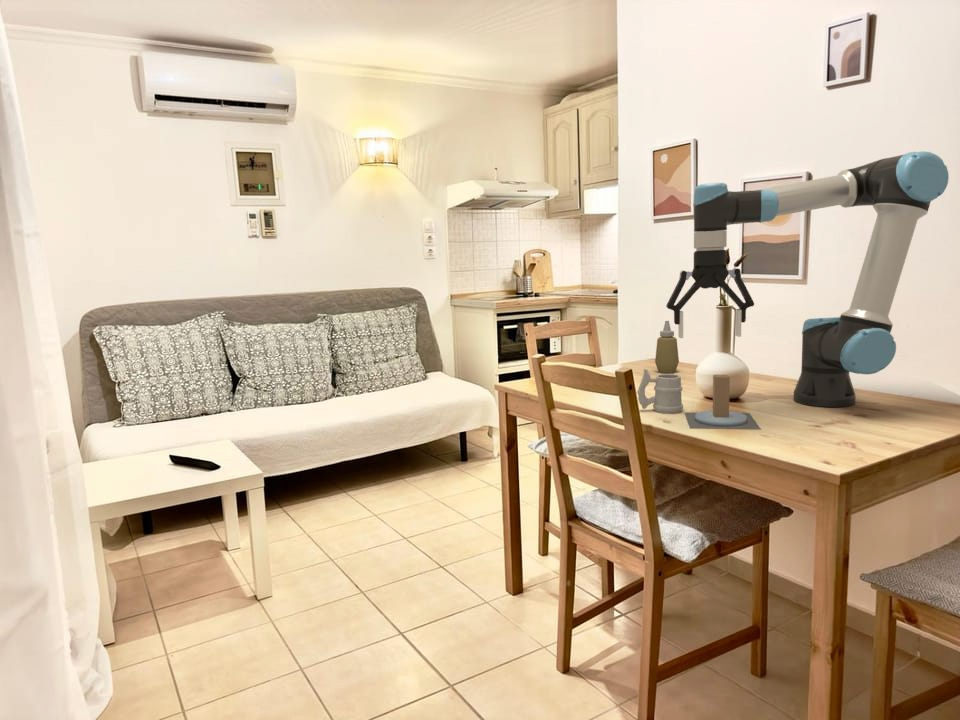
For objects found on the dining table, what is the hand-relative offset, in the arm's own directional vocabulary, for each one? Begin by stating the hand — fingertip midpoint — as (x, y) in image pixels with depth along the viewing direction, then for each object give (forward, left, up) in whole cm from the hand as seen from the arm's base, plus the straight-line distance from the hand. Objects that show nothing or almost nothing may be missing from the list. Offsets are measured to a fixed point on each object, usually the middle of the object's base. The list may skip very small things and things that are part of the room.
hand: (709, 336), depth 166 cm
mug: (+11, -8, -22) cm, 26 cm away
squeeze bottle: (+6, -68, -21) cm, 72 cm away
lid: (-3, +2, -21) cm, 21 cm away
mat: (-3, +2, -21) cm, 21 cm away
